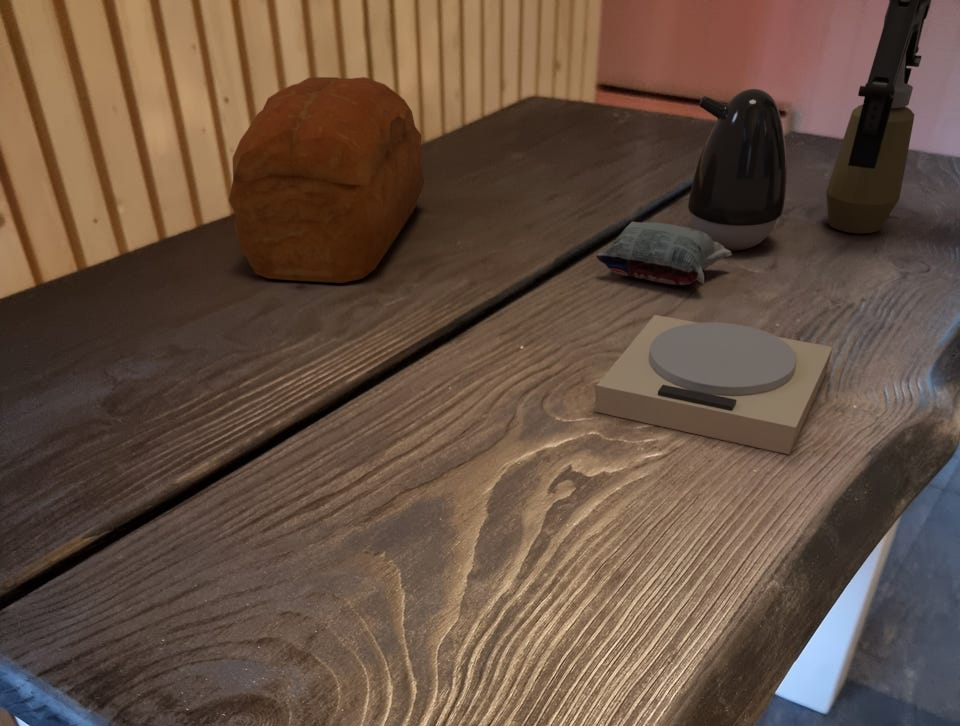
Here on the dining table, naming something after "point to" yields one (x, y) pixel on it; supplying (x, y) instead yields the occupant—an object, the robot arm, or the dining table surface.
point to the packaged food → (662, 253)
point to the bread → (325, 179)
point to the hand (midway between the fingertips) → (871, 149)
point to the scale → (716, 382)
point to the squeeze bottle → (871, 170)
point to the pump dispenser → (740, 171)
